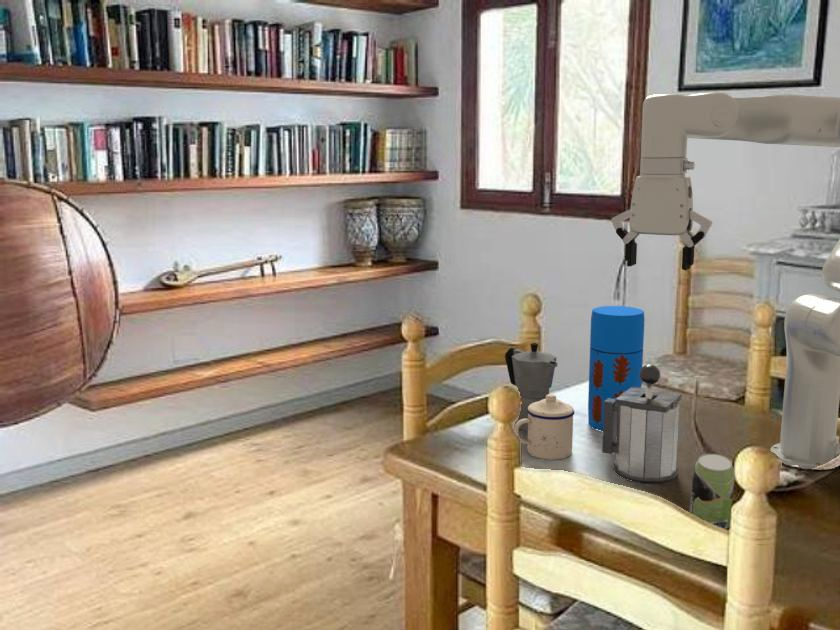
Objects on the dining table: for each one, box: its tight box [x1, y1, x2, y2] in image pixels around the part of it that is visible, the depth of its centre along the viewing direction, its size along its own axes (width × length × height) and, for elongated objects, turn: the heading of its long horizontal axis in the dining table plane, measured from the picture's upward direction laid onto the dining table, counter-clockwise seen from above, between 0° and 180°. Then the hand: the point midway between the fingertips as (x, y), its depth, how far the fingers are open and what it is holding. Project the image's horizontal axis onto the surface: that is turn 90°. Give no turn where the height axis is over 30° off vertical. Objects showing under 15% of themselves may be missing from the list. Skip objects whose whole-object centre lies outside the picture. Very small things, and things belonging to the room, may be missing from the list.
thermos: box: [587, 305, 645, 432], centre depth 178 cm, size 11×11×25 cm
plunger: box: [640, 364, 661, 399], centre depth 153 cm, size 7×7×18 cm
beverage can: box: [689, 453, 736, 529], centre depth 131 cm, size 6×7×12 cm
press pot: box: [601, 386, 682, 485], centre depth 154 cm, size 14×11×14 cm
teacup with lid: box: [513, 393, 575, 461], centre depth 164 cm, size 12×9×12 cm
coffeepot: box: [504, 342, 558, 432], centre depth 181 cm, size 15×9×18 cm, turn 36°
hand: (658, 267), depth 148 cm, fingers open, 9 cm apart
